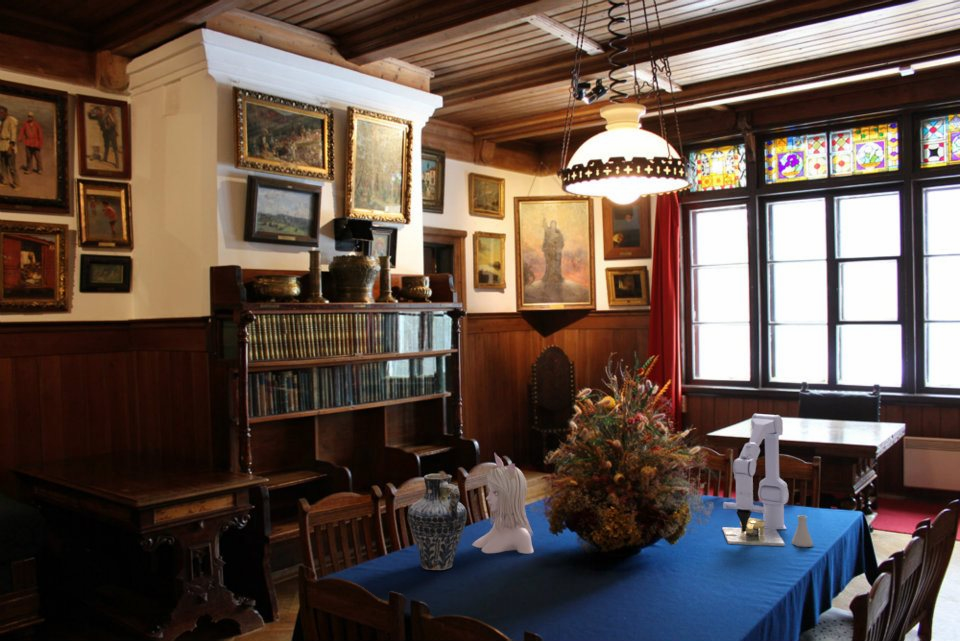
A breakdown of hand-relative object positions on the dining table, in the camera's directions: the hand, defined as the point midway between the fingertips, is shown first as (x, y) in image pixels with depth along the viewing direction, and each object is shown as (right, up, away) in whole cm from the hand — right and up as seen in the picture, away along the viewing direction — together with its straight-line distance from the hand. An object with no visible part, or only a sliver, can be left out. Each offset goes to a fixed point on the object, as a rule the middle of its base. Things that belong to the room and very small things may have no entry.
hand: (744, 530), depth 277 cm
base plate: (+5, -4, +7) cm, 10 cm away
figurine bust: (-85, -6, +3) cm, 85 cm away
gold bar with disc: (+4, -3, +4) cm, 6 cm away
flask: (+20, -5, -2) cm, 20 cm away
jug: (-107, -7, -20) cm, 109 cm away
